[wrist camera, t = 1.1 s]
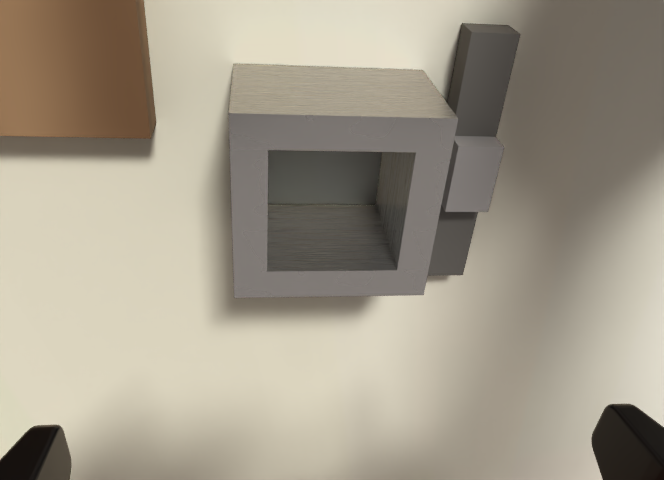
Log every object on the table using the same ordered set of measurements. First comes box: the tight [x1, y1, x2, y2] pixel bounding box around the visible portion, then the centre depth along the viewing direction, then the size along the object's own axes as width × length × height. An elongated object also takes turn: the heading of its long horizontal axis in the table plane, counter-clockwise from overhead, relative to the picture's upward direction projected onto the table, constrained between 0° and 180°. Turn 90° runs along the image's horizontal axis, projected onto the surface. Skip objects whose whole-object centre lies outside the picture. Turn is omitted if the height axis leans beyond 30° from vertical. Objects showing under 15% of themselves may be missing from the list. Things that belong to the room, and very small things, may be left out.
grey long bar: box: [428, 23, 520, 275], centre depth 20 cm, size 2×9×2 cm, turn 176°
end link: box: [229, 64, 458, 298], centre depth 19 cm, size 6×6×4 cm
